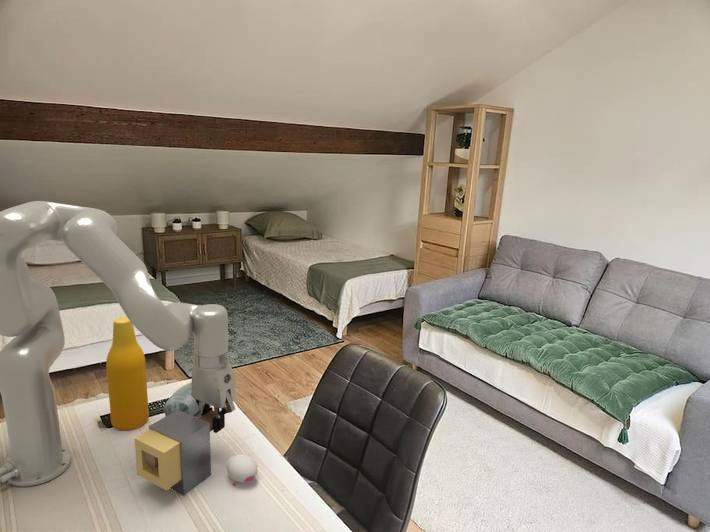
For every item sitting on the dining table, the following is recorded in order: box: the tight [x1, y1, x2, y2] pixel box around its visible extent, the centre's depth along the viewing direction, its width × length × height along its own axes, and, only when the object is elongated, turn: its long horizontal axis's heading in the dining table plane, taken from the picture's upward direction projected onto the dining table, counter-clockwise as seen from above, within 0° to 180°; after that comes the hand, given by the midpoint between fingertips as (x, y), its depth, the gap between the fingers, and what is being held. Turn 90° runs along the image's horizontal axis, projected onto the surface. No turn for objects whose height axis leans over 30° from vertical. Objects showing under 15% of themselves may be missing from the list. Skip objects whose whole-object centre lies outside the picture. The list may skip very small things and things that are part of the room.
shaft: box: [145, 409, 215, 469], centre depth 110 cm, size 19×3×3 cm, turn 151°
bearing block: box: [148, 410, 212, 497], centre depth 109 cm, size 8×10×14 cm
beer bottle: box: [105, 316, 150, 432], centre depth 126 cm, size 9×9×29 cm
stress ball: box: [226, 454, 259, 487], centre depth 111 cm, size 8×8×7 cm
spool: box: [163, 382, 200, 417], centre depth 133 cm, size 14×10×10 cm
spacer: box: [134, 428, 181, 491], centre depth 103 cm, size 4×9×9 cm, turn 61°
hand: (213, 426), depth 117 cm, fingers closed on shaft, 3 cm apart
